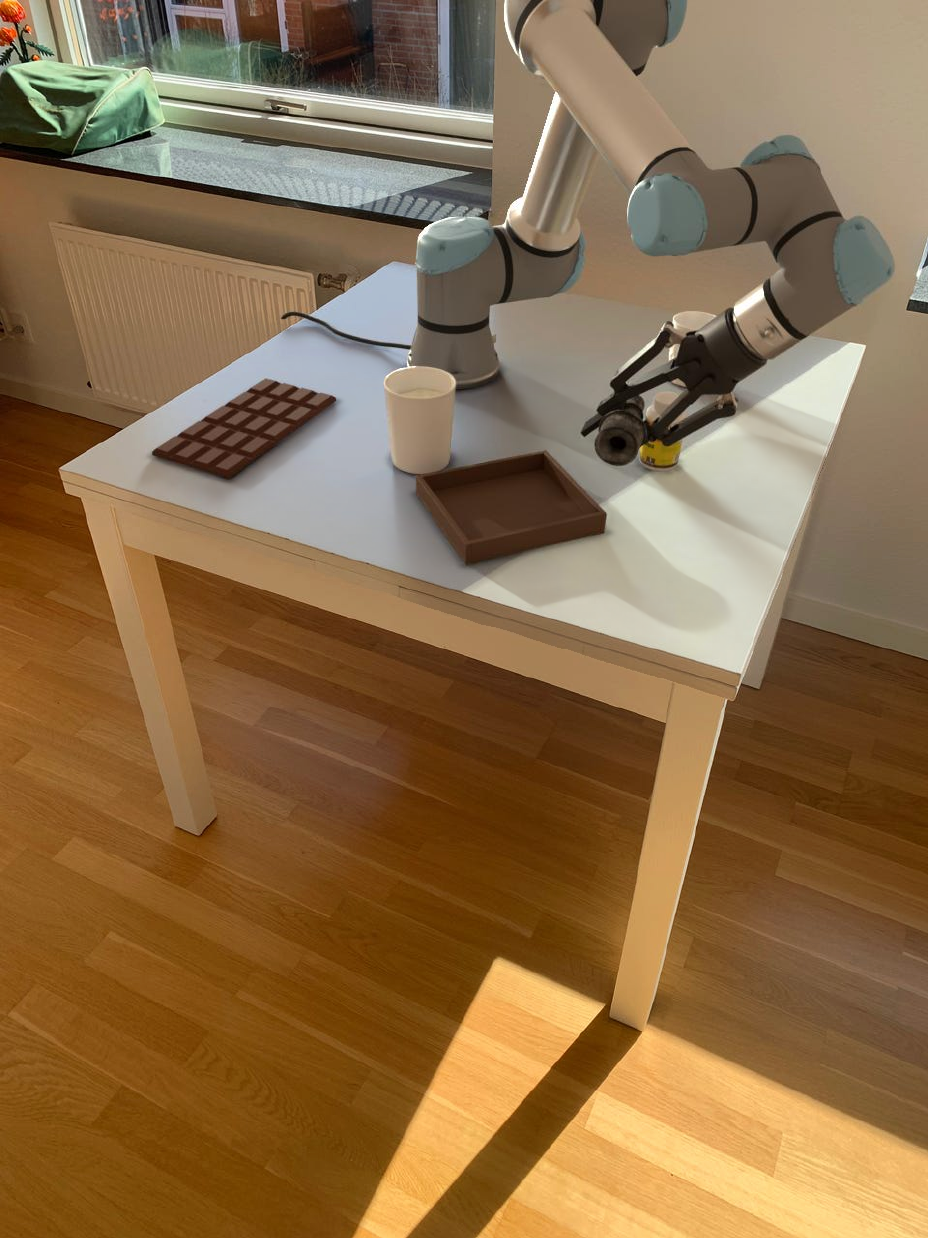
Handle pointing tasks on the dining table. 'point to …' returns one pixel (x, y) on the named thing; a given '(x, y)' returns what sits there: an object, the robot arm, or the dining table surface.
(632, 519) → the dining table surface
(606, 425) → the salt shaker
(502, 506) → the tray
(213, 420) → the chocolate bar
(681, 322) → the white cup
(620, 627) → the dining table surface
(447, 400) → the candle holder
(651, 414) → the supplement bottle
